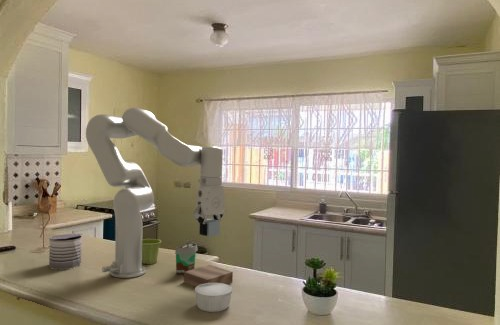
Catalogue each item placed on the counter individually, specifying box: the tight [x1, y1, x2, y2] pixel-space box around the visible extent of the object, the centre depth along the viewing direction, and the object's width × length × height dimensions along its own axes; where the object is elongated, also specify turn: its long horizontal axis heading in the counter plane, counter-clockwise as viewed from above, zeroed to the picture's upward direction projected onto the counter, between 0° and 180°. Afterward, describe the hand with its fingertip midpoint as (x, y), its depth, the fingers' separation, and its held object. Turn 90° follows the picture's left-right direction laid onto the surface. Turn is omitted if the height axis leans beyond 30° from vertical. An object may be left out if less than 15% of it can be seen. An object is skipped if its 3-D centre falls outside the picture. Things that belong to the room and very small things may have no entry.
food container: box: [174, 241, 199, 275], centre depth 143 cm, size 12×6×10 cm, turn 168°
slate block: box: [198, 218, 221, 238], centre depth 131 cm, size 5×5×5 cm
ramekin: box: [194, 283, 233, 313], centre depth 111 cm, size 11×11×5 cm
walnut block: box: [183, 264, 234, 288], centre depth 131 cm, size 12×12×4 cm
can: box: [48, 232, 83, 271], centre depth 146 cm, size 11×11×12 cm
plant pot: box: [142, 238, 162, 265], centre depth 153 cm, size 9×9×9 cm
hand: (209, 233), depth 131 cm, fingers closed on slate block, 5 cm apart
